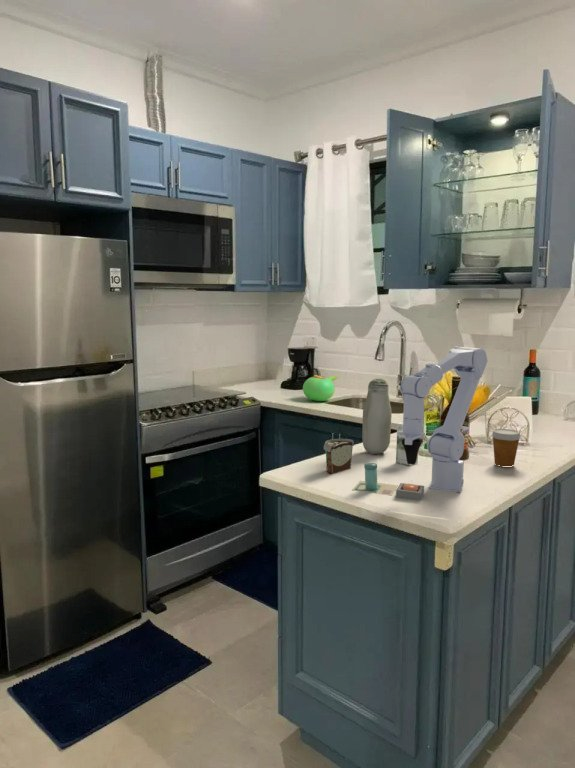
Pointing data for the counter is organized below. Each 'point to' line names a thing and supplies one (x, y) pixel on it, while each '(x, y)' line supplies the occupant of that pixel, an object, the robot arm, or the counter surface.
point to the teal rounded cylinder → (370, 476)
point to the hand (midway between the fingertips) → (411, 463)
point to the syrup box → (401, 447)
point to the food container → (338, 455)
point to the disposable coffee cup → (505, 446)
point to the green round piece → (319, 388)
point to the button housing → (410, 493)
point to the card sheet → (381, 488)
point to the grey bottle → (377, 417)
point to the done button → (410, 487)
